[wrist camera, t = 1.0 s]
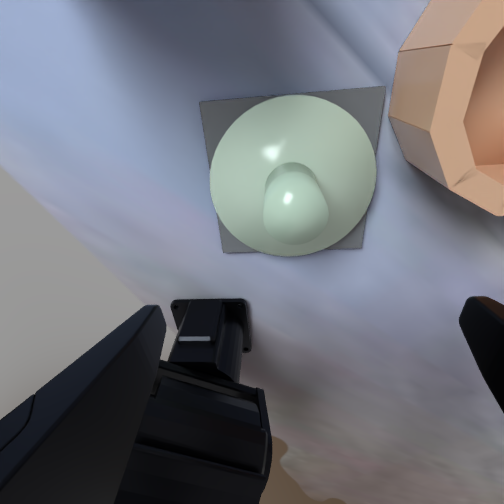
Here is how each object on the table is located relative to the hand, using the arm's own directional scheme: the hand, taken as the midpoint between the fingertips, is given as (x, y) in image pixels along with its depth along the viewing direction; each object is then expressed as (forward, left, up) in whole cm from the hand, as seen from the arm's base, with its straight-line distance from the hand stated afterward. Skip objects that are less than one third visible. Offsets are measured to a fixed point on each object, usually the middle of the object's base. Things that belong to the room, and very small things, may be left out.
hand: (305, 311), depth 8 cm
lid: (0, 0, -11) cm, 11 cm away
